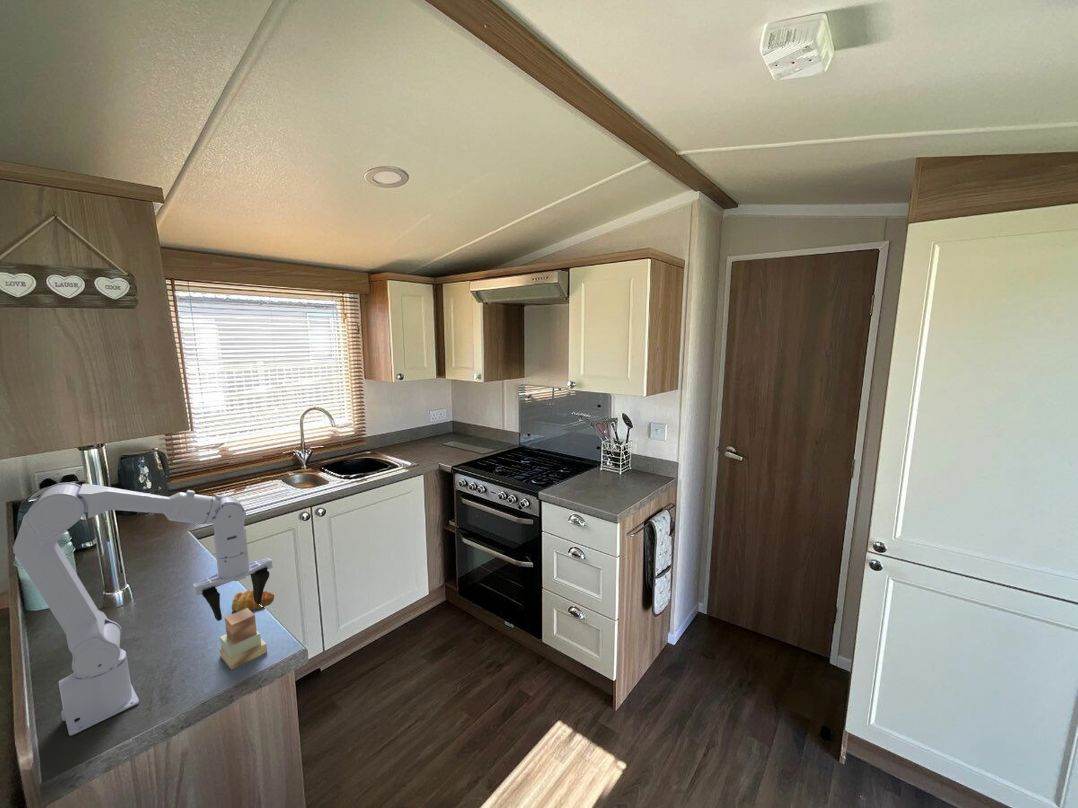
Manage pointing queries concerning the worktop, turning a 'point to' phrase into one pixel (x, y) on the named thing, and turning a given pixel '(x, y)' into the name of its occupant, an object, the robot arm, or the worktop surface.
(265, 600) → the pastry
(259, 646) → the oak slab
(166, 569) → the worktop surface
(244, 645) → the sage slab
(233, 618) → the terracotta cube
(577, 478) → the worktop surface
